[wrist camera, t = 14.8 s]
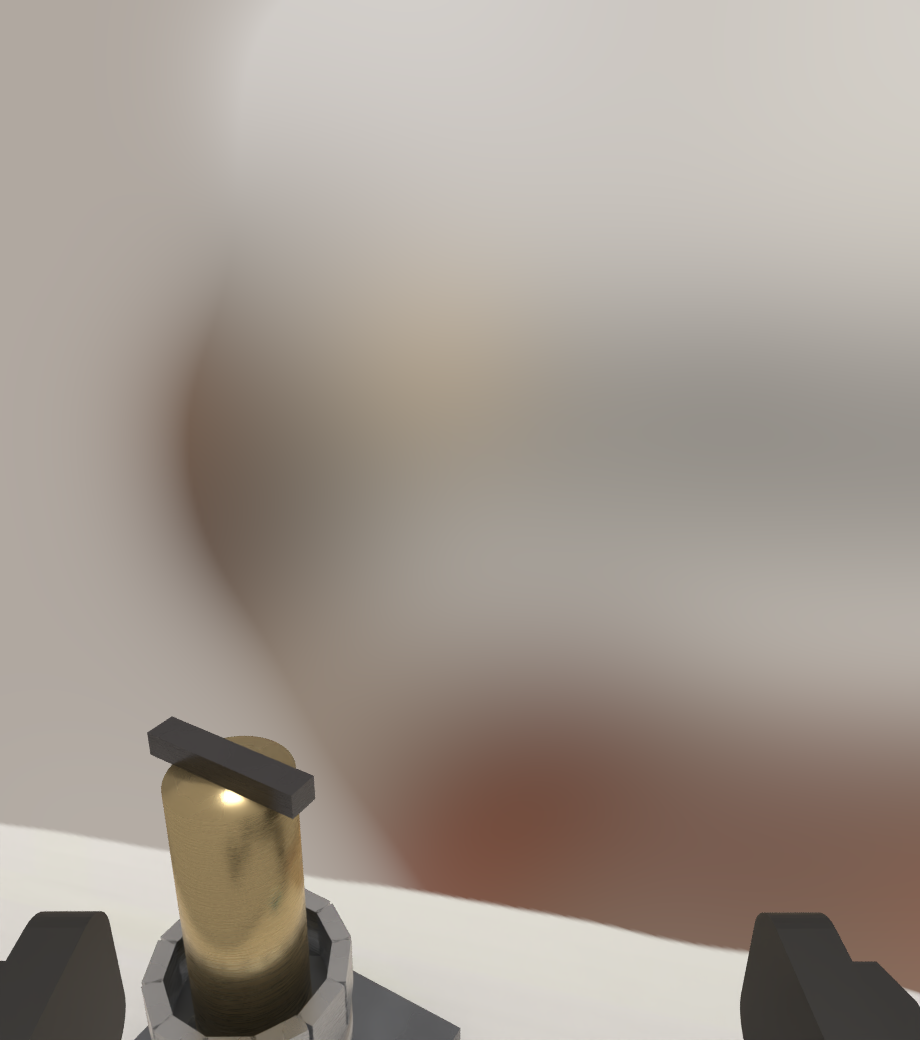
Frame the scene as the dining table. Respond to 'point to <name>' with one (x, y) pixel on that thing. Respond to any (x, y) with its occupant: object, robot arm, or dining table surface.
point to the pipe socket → (325, 1018)
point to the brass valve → (237, 875)
